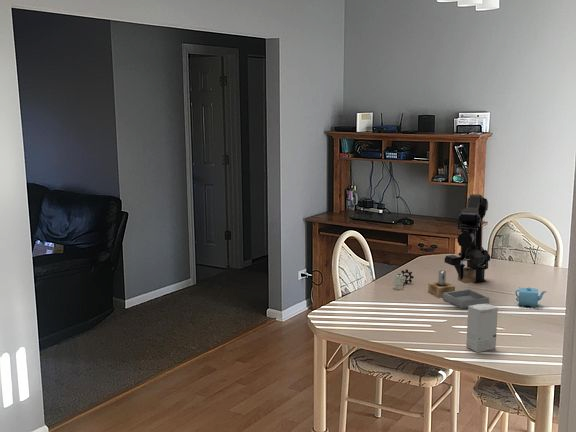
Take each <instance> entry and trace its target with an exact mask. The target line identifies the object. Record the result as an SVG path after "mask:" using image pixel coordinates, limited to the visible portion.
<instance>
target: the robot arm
mask: <svg viewBox="0 0 576 432" xmlns="http://www.w3.org/2000/svg"><path fill="white" fill-rule="evenodd" d="M488 209H489V201H488V199H487V198H485V197H483V195H481V194H477V193H476V194H474V193H473V194H470V195H469V197H467V202H466V208H463V209H461V212H460V213H459V215H458V223H457V230H461V231H460V233H459V235H458V236H457V238H456V241H457V243H458V246H460V252H458V253H457V254H458V256H457V255H455V254H451V255H445V257H444V263H445V264H448V265H451V266H453V267H454V269H455V271H456V273H457V276H458V275H459V278H460V279H461V280H462V279H463V268H465V266H466V267H469V268H472V269H474V270H476V282H473V283H475V284H476V283H484V282H487V279H485V272H486V271H485V270H488V269H489V262H490V261H491V255H490V253H489V251H488V250H487V249H485V248H484V247H483V224H484V223H483V219H484V217H485V216H486V213H487V211H488ZM464 262H466V264H464Z"/></svg>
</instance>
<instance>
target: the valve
mask: <svg viewBox="0 0 576 432" xmlns="http://www.w3.org/2000/svg"><path fill="white" fill-rule="evenodd" d="M400 272H401V273H399V272H398V273H395V274H394V280H393V283H394V286H393V287H394V289H395V290H397V291H401V290H403V289H404V283H405V284H406V285H407V284H408V283H412V282H413V279H414V278H415V276H413V275H412V274H413V271H409V269H408V268H406V269H405V270H403V269H402V270H401V271H400Z"/></svg>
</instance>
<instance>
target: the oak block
mask: <svg viewBox="0 0 576 432" xmlns="http://www.w3.org/2000/svg"><path fill="white" fill-rule="evenodd" d="M427 285H428V287H427V288H428V290H427V292H428V294H431V295H433V296H434V297H436V298H443V293H445V292H452V291H456V286H455V285H453V284H451V283H450V282H447V281H446V282H445V286H442V287H440V286H438V281H436V282H431V283H430V282H429V283H428V284H427Z"/></svg>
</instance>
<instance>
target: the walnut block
mask: <svg viewBox="0 0 576 432" xmlns="http://www.w3.org/2000/svg"><path fill="white" fill-rule="evenodd" d="M457 281H459V282H461V283H462V284H463V283H464V284H471V283H474V282H476V270H474V269H472V268H469V267H467V266H466V267H465V266H464V268H463V279H462V280H461V279H460V278H459V275H458V274H457Z"/></svg>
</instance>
